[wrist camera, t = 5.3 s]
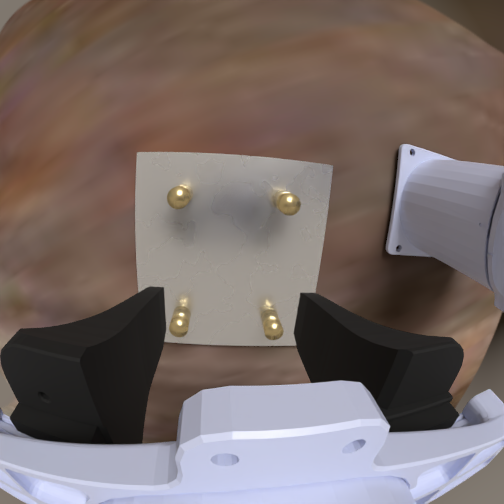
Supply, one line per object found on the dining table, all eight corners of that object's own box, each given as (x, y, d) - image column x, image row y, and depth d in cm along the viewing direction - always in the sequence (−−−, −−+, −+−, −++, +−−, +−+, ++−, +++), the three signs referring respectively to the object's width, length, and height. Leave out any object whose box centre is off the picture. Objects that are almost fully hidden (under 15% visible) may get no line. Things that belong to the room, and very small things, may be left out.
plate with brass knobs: (327, 165, 18) (345, 166, 15) (301, 338, 22) (311, 361, 19) (141, 152, 16) (126, 151, 14) (146, 332, 20) (137, 356, 17)
